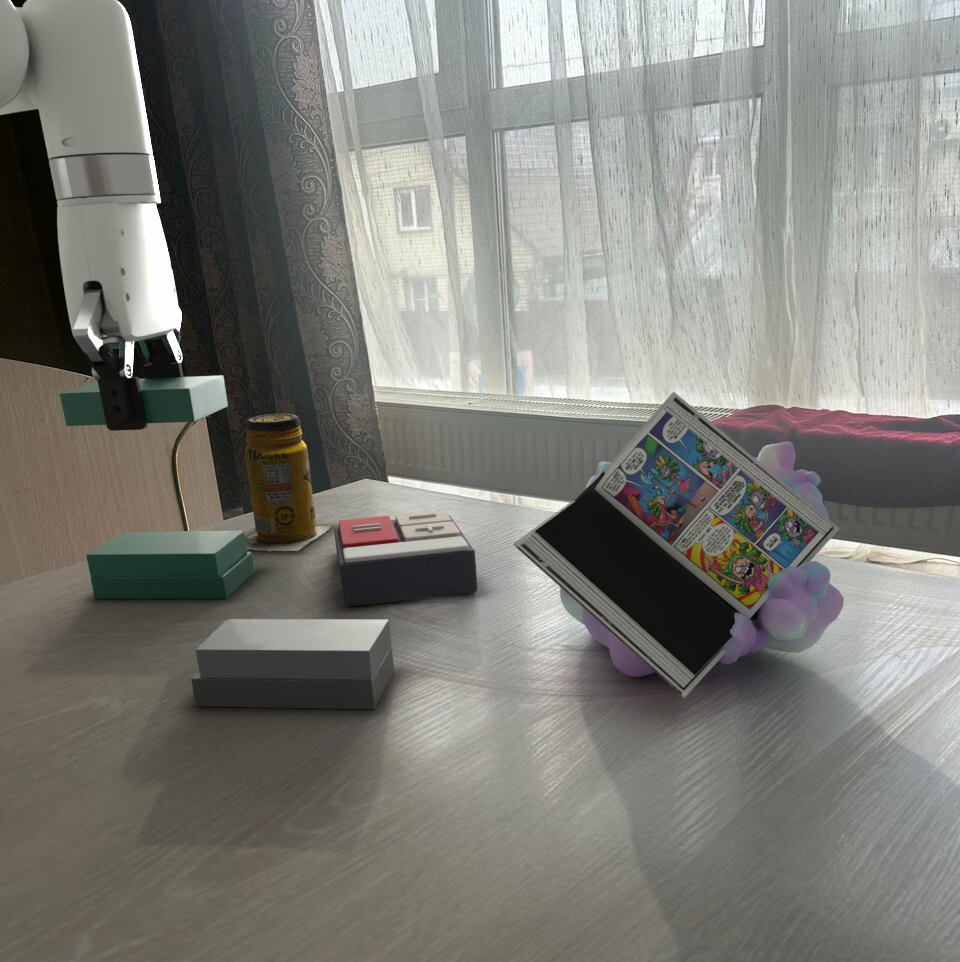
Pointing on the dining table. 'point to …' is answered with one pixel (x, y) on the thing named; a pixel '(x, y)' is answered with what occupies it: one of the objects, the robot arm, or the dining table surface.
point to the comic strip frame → (691, 551)
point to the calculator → (403, 558)
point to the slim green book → (152, 400)
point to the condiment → (279, 484)
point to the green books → (170, 565)
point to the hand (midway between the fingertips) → (149, 418)
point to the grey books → (295, 664)
